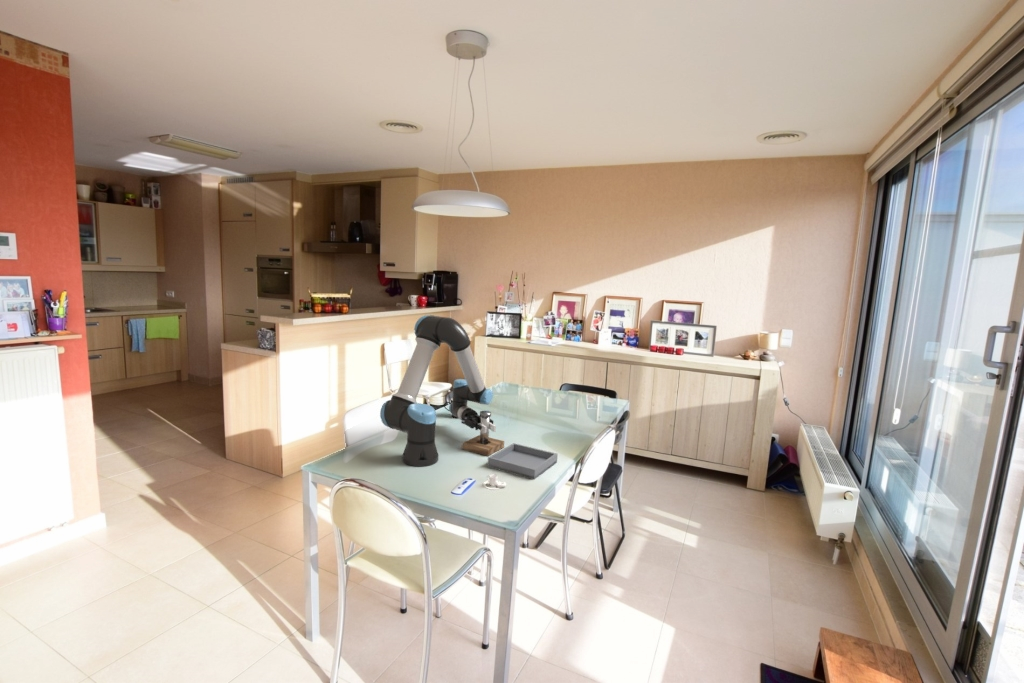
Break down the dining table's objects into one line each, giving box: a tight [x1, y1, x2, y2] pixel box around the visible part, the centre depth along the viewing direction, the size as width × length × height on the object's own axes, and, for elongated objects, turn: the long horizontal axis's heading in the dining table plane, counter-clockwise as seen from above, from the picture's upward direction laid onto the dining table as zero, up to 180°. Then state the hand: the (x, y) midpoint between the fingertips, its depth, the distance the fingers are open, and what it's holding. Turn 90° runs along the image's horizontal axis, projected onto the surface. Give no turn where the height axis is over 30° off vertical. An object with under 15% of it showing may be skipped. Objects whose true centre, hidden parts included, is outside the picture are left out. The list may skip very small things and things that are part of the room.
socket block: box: [461, 434, 505, 457], centre depth 232 cm, size 14×14×3 cm
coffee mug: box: [443, 397, 460, 420], centre depth 278 cm, size 12×9×10 cm
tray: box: [487, 442, 558, 480], centre depth 215 cm, size 22×22×4 cm
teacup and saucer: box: [482, 473, 507, 490], centre depth 193 cm, size 9×8×4 cm
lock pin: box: [479, 410, 492, 445], centre depth 231 cm, size 5×5×15 cm
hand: (490, 429), depth 226 cm, fingers closed on lock pin, 4 cm apart
